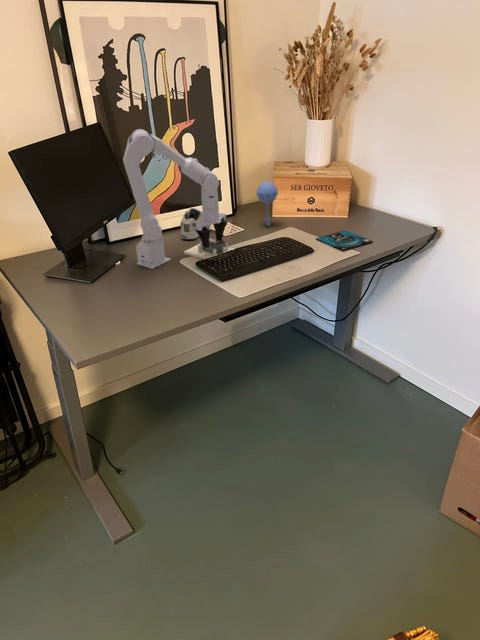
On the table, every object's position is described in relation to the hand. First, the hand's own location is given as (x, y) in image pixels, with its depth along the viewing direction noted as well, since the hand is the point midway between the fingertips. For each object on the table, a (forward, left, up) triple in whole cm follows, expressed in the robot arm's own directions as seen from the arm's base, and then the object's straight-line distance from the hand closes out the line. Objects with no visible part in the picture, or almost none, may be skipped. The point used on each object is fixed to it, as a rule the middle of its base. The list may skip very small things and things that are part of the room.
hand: (212, 243), depth 176 cm
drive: (0, 0, -3) cm, 3 cm away
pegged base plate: (0, +1, -4) cm, 4 cm away
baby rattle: (+36, 0, -4) cm, 36 cm away
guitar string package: (+36, -35, -5) cm, 50 cm away
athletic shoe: (+15, +21, -4) cm, 27 cm away
